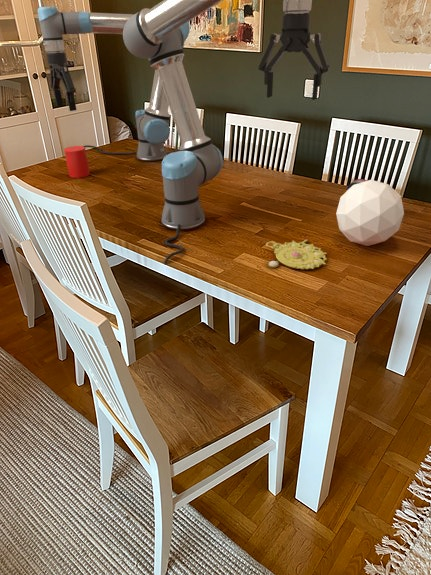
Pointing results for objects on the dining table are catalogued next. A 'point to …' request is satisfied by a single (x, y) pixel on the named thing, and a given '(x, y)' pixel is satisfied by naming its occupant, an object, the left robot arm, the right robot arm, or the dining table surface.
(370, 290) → the dining table surface
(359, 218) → the sphere
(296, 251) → the decorative object
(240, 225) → the dining table surface
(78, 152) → the canister
